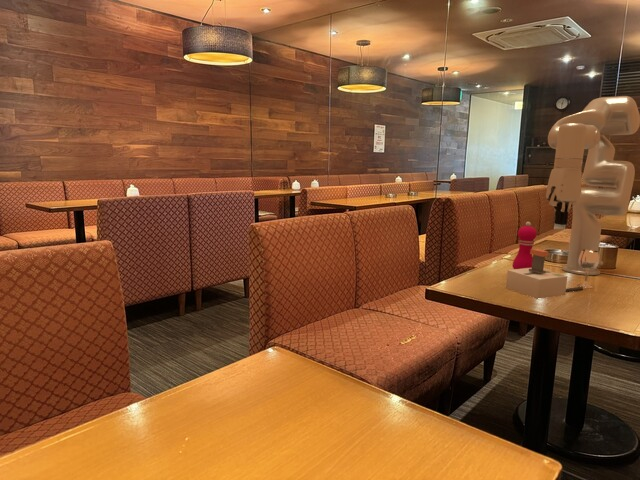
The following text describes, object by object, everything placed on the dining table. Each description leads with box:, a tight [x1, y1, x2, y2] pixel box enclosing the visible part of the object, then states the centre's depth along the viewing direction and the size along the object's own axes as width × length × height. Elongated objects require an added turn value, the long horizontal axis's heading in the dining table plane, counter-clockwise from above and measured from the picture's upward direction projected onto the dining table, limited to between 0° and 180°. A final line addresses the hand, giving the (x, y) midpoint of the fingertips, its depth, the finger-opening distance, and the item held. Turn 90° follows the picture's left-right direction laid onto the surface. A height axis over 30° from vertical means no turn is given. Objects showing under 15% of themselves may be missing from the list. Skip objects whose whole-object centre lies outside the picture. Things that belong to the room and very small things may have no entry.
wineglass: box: [577, 250, 600, 289], centre depth 148 cm, size 6×6×12 cm
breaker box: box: [505, 268, 584, 300], centre depth 143 cm, size 22×12×6 cm, turn 114°
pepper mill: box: [511, 221, 538, 269], centre depth 156 cm, size 7×7×20 cm
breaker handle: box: [529, 248, 550, 274], centre depth 139 cm, size 3×4×7 cm
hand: (560, 224), depth 140 cm, fingers closed
